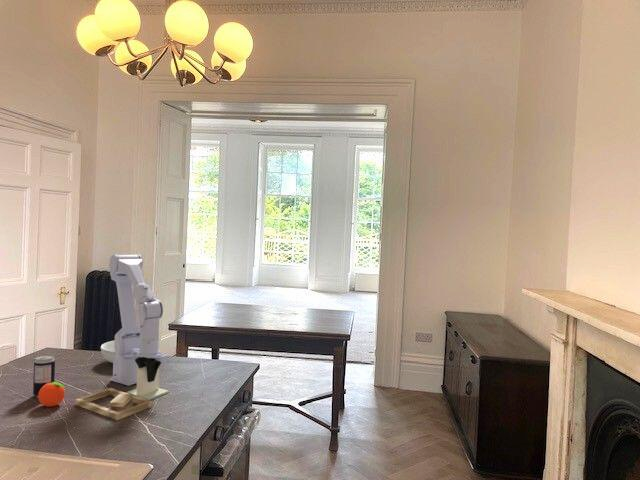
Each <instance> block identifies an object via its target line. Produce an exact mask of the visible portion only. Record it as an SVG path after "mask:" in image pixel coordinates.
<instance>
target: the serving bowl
mask: <svg viewBox="0 0 640 480" xmlns="http://www.w3.org/2000/svg"><path fill="white" fill-rule="evenodd" d="M114 343H115V339H114V340H111V341H107V342H104V343H102V344H101V346H100V352H101V353H100V354H101V355H102V357H103V358H104V359H105V360H106V361H107V362H109V363H112V364H113V361H114V359H115V357H116V356H117V354H116V353H115V349H114Z"/></svg>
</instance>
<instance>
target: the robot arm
mask: <svg viewBox="0 0 640 480" xmlns="http://www.w3.org/2000/svg"><path fill="white" fill-rule="evenodd" d="M143 263H144V260H143V257H142V256H141V254H140V253H136V254H115V253H114V254H112V255H111V256H110V259H109V263H108V266H109V275H110V279H111V281H114V282H115V285H116V289H117V298H118V299H117V300H118V306H119V314H120V322H121V328H120V329H119V330H118V331H117V332H116V333H115V335H114V340H115V343H114V349H115V353H116V354H117V356H116V357H115V359H114V361H113V363H112V378H110V381H112V382H115V383H119V384H121V385H125V386H128V387H129V386H133V385H134V384H137V369H139V368H142V367H146V369H147V379H148V382H152V381H154V380H155V376H156V373H157V370H158V368H159V366H160V367H161V364H163V363H165V362H168V355H167V354H165V353H163V352H161V351H159V340H160V339H159V338H160V319H161V318H162V317H163V315H164V314H163V313H164V308H163V307H164V306H163V303H162V301H161V300H160V299H158V298H156V297H155V295H154V291H153V290H152V288H151V286H150V285H149V284H148V283H147V284H146V283H145V279H144V276H143V273H142V269H143V265H144V264H143ZM135 302H136V304H137V305H136V306H137V309H136V308H135ZM136 310H137V315H136ZM137 317H138V322H137ZM159 369H160V368H159Z"/></svg>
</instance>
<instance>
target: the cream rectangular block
mask: <svg viewBox="0 0 640 480" xmlns="http://www.w3.org/2000/svg"><path fill="white" fill-rule="evenodd" d="M160 367H161V365H160V366H159V368H158V370H157V373H156V376H155V380H154V381H152V382H148V379H147V369H146V367H142V368H139V369H137V383H136V389H137V394H138V395H144V394H147V393H149V392H152V391H155V390H158V389H159V388H160Z"/></svg>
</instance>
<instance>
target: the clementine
mask: <svg viewBox="0 0 640 480" xmlns="http://www.w3.org/2000/svg"><path fill="white" fill-rule="evenodd" d="M66 391H67V390H66V387H65V386H64V385H63V384H62V383H59V382H58V381H55V382H50V383H47V384H45V385H44V386H43V387H42V388H41V389H40V391H39V393H38V401H39V403H40V404H41V405H43V406H44V407H55V406H58V404H60V403H62V401H63V400H64V397H65V395H66Z"/></svg>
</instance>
